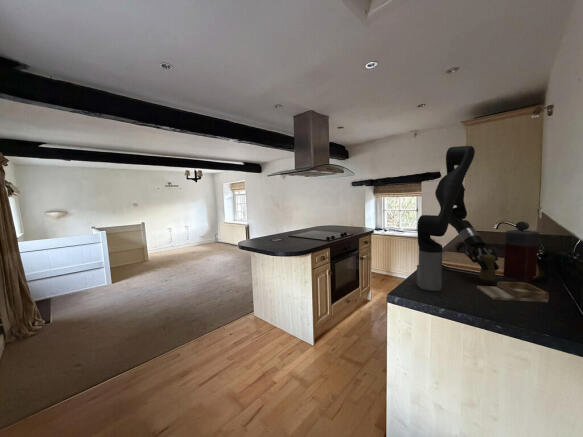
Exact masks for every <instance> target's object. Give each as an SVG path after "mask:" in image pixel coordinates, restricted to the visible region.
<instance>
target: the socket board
mask: <svg viewBox="0 0 583 437" xmlns="http://www.w3.org/2000/svg"><path fill="white" fill-rule="evenodd" d="M476 289H477V290H479V291H480V292H482V293H483V294H485V295H487V297H490V298H491V299H492V300H494V301H495V300H498V301H499V300H500V301H515V302H516V301H518V302H535V303H549V298H550V293H549V292H548V291H545V290H544V289H542V288H539V287H537V286H535V285H532V284H531V283H528V282H518V281H517V282H516V281H511V282H510V281H497V283H496V286H490V285H489V286H487V285H476Z"/></svg>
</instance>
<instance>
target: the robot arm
mask: <svg viewBox="0 0 583 437" xmlns="http://www.w3.org/2000/svg"><path fill="white" fill-rule="evenodd" d="M475 151H476V150H475V148H474V146H472V145H463V146H462V145H461V146H460V145H459V146H451V147H448V148H447V151H446V153H445V168H446V169H445V170H446V174H445V175H444V176H443V177H442V178H441V179H440V180H439V181H438V184H437V186H436V189H435V192H434V193H435V198H436V200H437V202H438V204H439V207H440V211H439V213H438V214H437V215H434V214H433V215H430V214H423V215H420V216H419V218H418V219H417V224H416V225H417V226H416V230H417V231H416V232H417V233H416V234H417V246H418V264H417V265H416V285H417V287H418V288H419V290H424V291H431V292H439V291H442V284H443V283H442V281H443V278H442V276H443V245H442V244H441V243H439V242H436V241H435V240H433V239H432V237H438V238H439V237H443V236H445V235H446V232H447V231H448V228H449V225H451V227H453V228H454V229H455V230H456V232H457V233H458V236H459V238H460V240H461V241H462V242H463V244H464V245H465V247H466V249H467V250H466V251H465V252H464V255H466V257H468V258H469V260H470V261H471V262H472V263H474V264H476V263H477V264H478V265H479V266H480V269H481V268H482V269H483V270H484V271H486V270H488V267H487V266H486V264H485V262H483V260H482V258H481V257H482V255H485V254H488V255H493V256H495V257H496V261H495V262H494V267H495V271H499V269H500V266H499V265H498V264H497V261H498V260H499V258H498V255H497V253H496V250H495V249H494V248H492V249H489V248H488V247H486V243H485V241H484V240H483V239H482V237H481V236H480V234H479V233H478V232H477V230H476V229H475V228H474V226H473V225H472V224H471V222H470V221H469V220H467V219H466V218H467V216H468V213H467V208H466V205H465V204H466V203H465V192H466V191H465V186H464V179H465V177H466V175H467V172H468V171H469V168H470V166H471V165H472V163H473V161H474V158H475V153H476V152H475ZM455 166H456V167H455ZM454 206H456V207H454Z"/></svg>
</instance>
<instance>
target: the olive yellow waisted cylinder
mask: <svg viewBox="0 0 583 437" xmlns="http://www.w3.org/2000/svg"><path fill="white" fill-rule="evenodd" d="M481 258H482V260H483V262H485V264H486V266H487V267H488V270H486V271H484V270H483V269H482V268H481V267H480V272H479V276H478V277H479V279H482V280H485V281H496V280H497V277H496V270H495V267H494V262H497V261H496V257H495V256H493V255H488V254H485V255H482V257H481Z"/></svg>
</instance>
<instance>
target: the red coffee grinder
mask: <svg viewBox="0 0 583 437" xmlns="http://www.w3.org/2000/svg"><path fill="white" fill-rule="evenodd" d="M515 227H516V229H511V230H507V231H505V237H504V254H503V255H504V257H503V277H504V278H508V279H512V280H517V281H522V282H523V283H528V282H530V281H534V280H535V279H534V278H533V277H534V276H536V277H537V268H538V265H537V264H538V252H539V250H538V249H539V238H540V237H539V236H540V235H539V231H537V230H528V229H529V228H530V224H529V223H528V222H527V221H524V220H523V221H518V222H517V223H515Z"/></svg>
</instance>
